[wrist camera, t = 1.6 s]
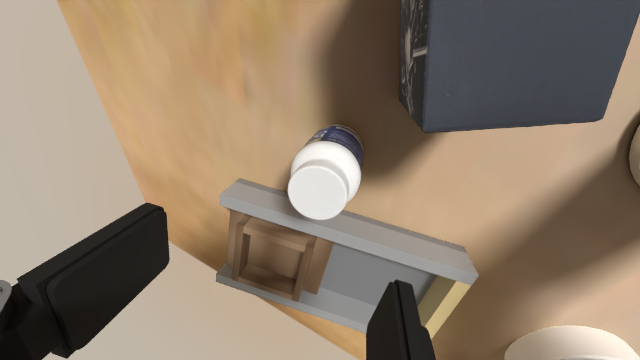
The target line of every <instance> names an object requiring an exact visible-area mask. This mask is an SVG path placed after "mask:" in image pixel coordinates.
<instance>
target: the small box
mask: <svg viewBox="0 0 640 360" xmlns="http://www.w3.org/2000/svg"><path fill="white" fill-rule="evenodd" d="M639 13H640V0H400V83H399V101H400V102H401V103H402V105H403V106H404V107H405V108H406V110H407V111H408V113H409V114H410V115H411V117H412V118H413V119H414V120H415V121H416V123H417V124H418V125H419V127H420V128H421V130H422V132H424V133H435V132H451V131H470V130H483V129H495V128H513V127H532V126H543V125H553V124H570V123H586V122H595V121H598V120H601V119H603V117H604V114H605V111H606V108H607V105H608V102H609V99H610V97H611V94H612V90H613V88H614V85H615V83H616V80H617V77H618V74H619V71H620V68H621V65H622V63H623V60H624V58H625V55H626V50H627V48H628V45H629V43H630V40H631V37H632V34H633V30H634V28H635V26H636V23H637V19H638V16H639Z"/></svg>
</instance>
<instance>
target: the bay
mask: <svg viewBox="0 0 640 360" xmlns="http://www.w3.org/2000/svg"><path fill="white" fill-rule="evenodd" d="M220 206H223V207H226V208H229V209H232V210H236V211H239V212H242V213H245V214H248V215H251V216H254V217H257V218H261V219H264V220H267V221H270V222H273V223H276V224H279V225H283V226H286V227H289V228H292V229H295V230H298V231H301V232H305V233H308V234H311V235H314V236H317V237H320V238H323V239H327V240H330V241H333V242H334V245H333V248H332V251H331V254H330V257H329V260H328V263H327V266H326V269H325V272H324V275H323V278H322V281H321V284H320V287H319V290H318V293H317V295H315V294H312V293H309V292H306V291H303V290H302V292H301V295H300V298H299V301H298V302H296V301H293V300H290V299H287V298H284V297H281V296H278V295H275V294H272V293H269V292H266V291H264V290H261V289H258V288H255V287H252V286H249V285H246V284H243V283H240V282H237V281H234V280H232V269H233V267H232V266H229V265H227V261H226V262H225V263H224V265H223V266H222V267H221V268H220V270H219V271H218V272H217V274H216V282H219V283H222V284H225V285H227V286H230V287H233V288H236V289H239V290H242V291H245V292H248V293H250V294H253V295H256V296H259V297H262V298H265V299H268V300H271V301H274V302H276V303H279V304H282V305H285V306H288V307H291V308H294V309H297V310H300V311H302V312H305V313H308V314H311V315H314V316H317V317H320V318H323V319H326V320H329V321H331V322H334V323H337V324H340V325H343V326H346V327H349V328H352V329H355V330H357V331H360V332H363V333H366V331H367V326H368V323H369V321H370V319H371V317H372V315H373V313H374V311H375V309H376V307H377V305H378V303H379V301H380V299H381V297H382V295H383V293H384V291H385V289H386V288H387V286H388V284H389V282H394V281H395V280H396V279H397V280H400V281H404V282H407V283H410V284H412V286H413V290H414V294H415V299H416V303H417V308H418V312H419V317H420V321H421V325H422V326H424V327H426V328H427V330H428V331H429V334H430V338H431V339H432V338H433V336H434V335H435V334H436V332H437V331H438V330H439V328H440V327H441V326H442V324H443V323H444V322H445V320H446V319H447V318H448V316H449V315H450V314H451V312H452V311H453V310H454V308H455V307H456V306H457V304H458V303H459V302H460V300H461V299H462V297H463V296H464V295H465V293H466V292H467V291H468V289H469V288H470V287H471V285H472V284H473V283H474V281H475V280H476V279H477V277H478V276H479V275H478V273H477V271H476V269H475V267H474V265H473V263H472V261H471V259H470V257H469V256H468V254H467V252H466V250H465V248H464V247H462V246H459V245H455V244H452V243H449V242H446V241H442V240H439V239H436V238H433V237H429V236H426V235H423V234H420V233H416V232H413V231H410V230H407V229H403V228H400V227H397V226H394V225H390V224H387V223H384V222H380V221H377V220H374V219H371V218H367V217H364V216H361V215H358V214H354V213H351V212H348V211H345V210H342V211H341V212H340V213H339V214H338V215H336V216H335V217H333V218H330V219H326V220H315V219H311V218H308V217H306V216H304V215H302V214H301V213H299V212H298V211H297V210H296V209H295V208H294V206H293V205H292V203H291V202H290V199H289V196H288V193H286V192H283V191H279V190H276V189H273V188H270V187H266V186H263V185H260V184H257V183H253V182H250V181H247V180H244V179H240V178H239V179H238V180H237V181H236V182H234V183H233V184H232V185H231V186H229V187H228V188H227V189H226V190H224V191H223V192H222V193H221V194H220Z"/></svg>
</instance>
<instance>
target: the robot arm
mask: <svg viewBox="0 0 640 360" xmlns="http://www.w3.org/2000/svg"><path fill="white" fill-rule="evenodd" d="M629 162H630V170H631V172H632V175H633V177H634V179H635V181H636V182H637V183H638V185H639V186H640V125H639V127H638V128H637V131H636V133H635V136H634V138H633V140H632V143H631V148H630V154H629ZM168 263H169V245H168V230H167V215H166V212H164V209H163V207H160V206H157V205H154V204H151V203H145V204H143V205H141V206H139V207H138V208H136V209H134V210H133V211H131V212H129V213H127V214H126V215H124V216H122V217H121V218H119V219H117V220H115V221H114V222H112V223H110V224H109V225H107V226H105V227H104V228H103V229H100V230H99V231H97V232H95V233H93V234H92V235H90V236H88V237H87V238H85V239H84V240H82V241H80V242H78V243H77V244H75V245H73V246H71V247H70V248H68V249H66V250H65V251H63V252H61V253H60V254H58V255H56V256H55V257H53V258H51V259H49V260H48V261H46V262H45V263H43V264H41V265H39V266H38V267H36V268H34V269H32V270H31V271H29V272H27V273H26V274H24V275H22V276H21V277H19V278H17V280H18V282H19V283H17V284H15V285H14V286H12V287H11V285H10V283H8V282H6V281H4V280H0V360H42V359H43V358H44V357H45V356H46V355H47V354H49V353H50V352H52V353H53V354H55V355H58V356H61V357H64V358H68V357H69V356H70V355H71V354H73V352H75V351H76V350H79V349H81V348H83V347H84V346H85V345H87V344H88V343H89V342H90V341H91V340H92V339H93V338H94V337H95V336H96V335H97V334H98V333H99V332H100V331H101V330H102V329H103V328H104V327H105V326H106V325H107V324H108V323H109V322H110V321H111V320H112V319H113V318H114V317H115V316H116V315H117V314H118V313H119V312H120V311H122V309H124V308H125V307H126V306H127V305H128V304H129V302H131V301H132V300H133V299H134V298H135V297H136V296H137V295H138V294H139V293H140V292H141V291H142V290H143V289H144V288H145V287H146V286H147V285H148V284H149V283H150V282H151V281H152V280H153V279H154V278H155V277H157V275H159V274H160V272H162V271H163V270H164V269H165V268H166V266H167V265H168ZM366 360H436V358H435V354H434V350H433V346H432V342H431V338H430V334H429V331H428V330H427V328H426V327H424V326H422V325H421V321H420V317H419V312H418V308H417V303H416V299H415V294H414V290H413V286H412V284H410V283H407V282H404V281H400V280H397V279H396V280H395V281H394V282H389V284H388V286H387V288H386V289H385V291H384V293H383V295H382V297H381V299H380V301H379V303H378V305H377V307H376V309H375V311H374V313H373V315H372V317H371V319H370V321H369V323H368V326H367V331H366Z"/></svg>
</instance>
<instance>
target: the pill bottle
mask: <svg viewBox="0 0 640 360" xmlns="http://www.w3.org/2000/svg"><path fill="white" fill-rule="evenodd" d="M363 156H364V149H363V144H362V141H361V139H360V137H359V136H358V134H357V133H356V132H355V131H353V130H352V129H351V128H349V127H346V126H343V125H329V126H326V127H324V128H322V129H321V130H319V131H318V132H317V133H316V134H315V135H314V136H313V137H312V138H311V139H310V140H309V141H308V142H307V143H306V145H305V146H304V147H303V148H302V149H301V150H300V151H299V152H298V154H297V155H296V157H295V158H294V160H293V163H292V166H291V179H290V181H289V184H288V196H289V199H290V202H291V203H292V205H293V206H294V208H295V209H296V210H297V211H298V212H299V213H301V214H302V215H304V216H306V217H308V218H311V219H315V220H326V219H330V218H333V217H335V216H336V215H338V214H339V213H340V212H341V211H342V210H343V208H344V207H345V205H346V203H348V202H349V201H350V200H351V199H352V198H353V197H354V195H355V194H356V192H357V190H358V188H359V185H360V181H361V173H362V164H363Z"/></svg>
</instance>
